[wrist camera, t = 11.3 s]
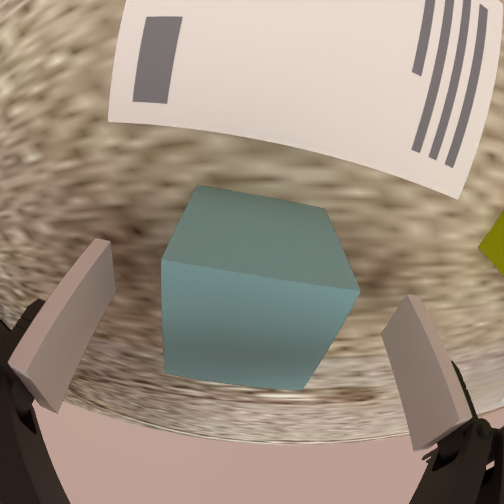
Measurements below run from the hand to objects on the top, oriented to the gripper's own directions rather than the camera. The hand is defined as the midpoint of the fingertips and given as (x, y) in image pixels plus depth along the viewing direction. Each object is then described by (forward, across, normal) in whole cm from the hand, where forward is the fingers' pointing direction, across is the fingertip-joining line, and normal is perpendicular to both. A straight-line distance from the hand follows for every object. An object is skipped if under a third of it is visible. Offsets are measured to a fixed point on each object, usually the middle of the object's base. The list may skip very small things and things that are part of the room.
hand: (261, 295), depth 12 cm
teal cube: (+4, +1, 0) cm, 4 cm away
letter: (+3, -1, -12) cm, 12 cm away
